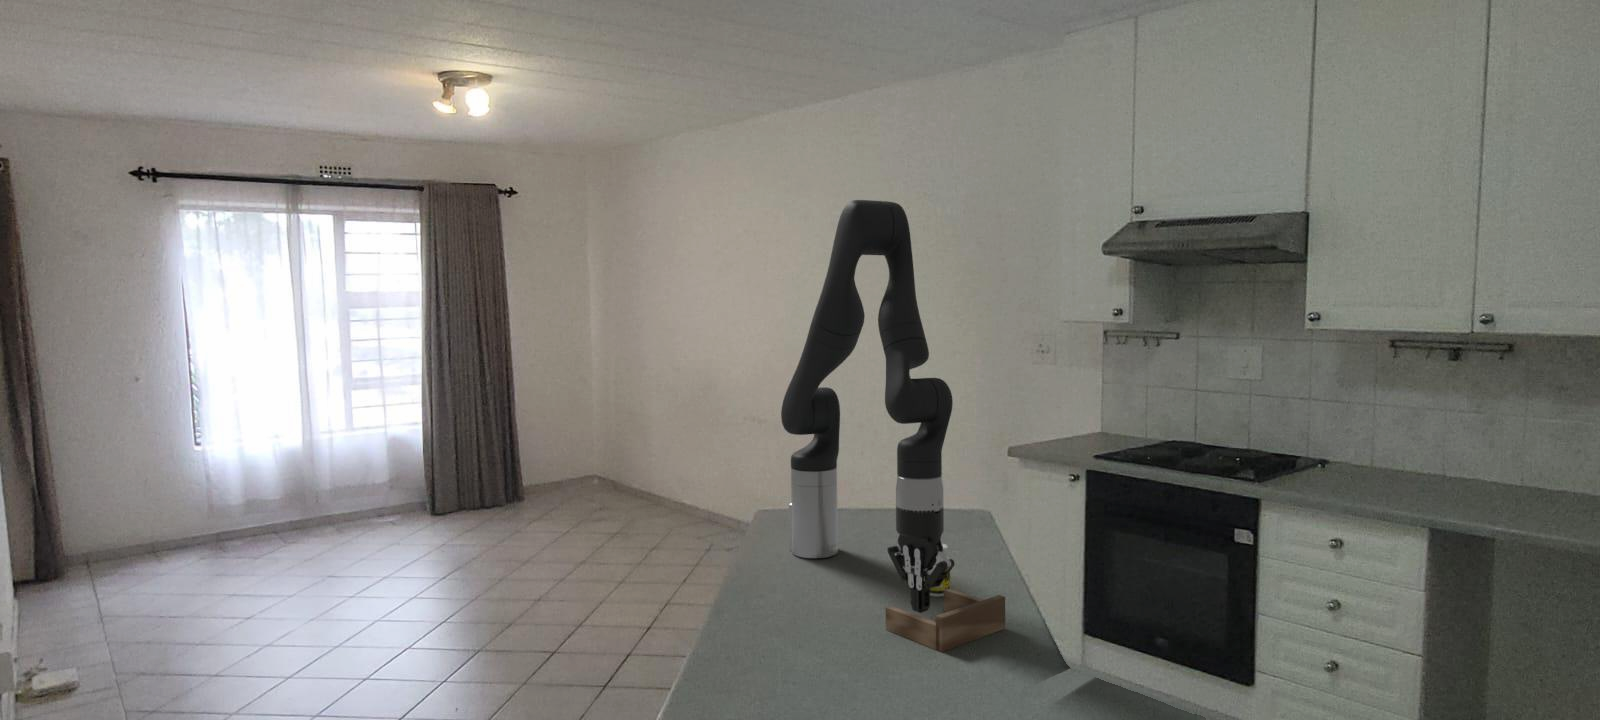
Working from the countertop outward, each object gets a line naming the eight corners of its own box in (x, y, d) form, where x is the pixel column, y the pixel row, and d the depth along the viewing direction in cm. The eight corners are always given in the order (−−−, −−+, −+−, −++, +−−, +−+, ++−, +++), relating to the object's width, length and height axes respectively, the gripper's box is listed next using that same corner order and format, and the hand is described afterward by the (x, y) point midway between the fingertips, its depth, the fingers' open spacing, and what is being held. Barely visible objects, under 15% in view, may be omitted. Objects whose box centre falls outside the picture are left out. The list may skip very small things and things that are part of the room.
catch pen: (885, 629, 131) (885, 598, 131) (948, 609, 140) (948, 579, 140) (942, 652, 122) (942, 618, 122) (1005, 628, 131) (1005, 596, 131)
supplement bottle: (950, 598, 146) (949, 550, 145) (922, 596, 147) (921, 548, 146) (950, 589, 150) (950, 542, 150) (923, 588, 151) (923, 541, 151)
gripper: (873, 500, 137) (874, 605, 138) (934, 514, 127) (935, 627, 128) (906, 494, 142) (907, 595, 143) (967, 506, 132) (968, 616, 132)
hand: (920, 610), depth 135 cm, fingers closed
